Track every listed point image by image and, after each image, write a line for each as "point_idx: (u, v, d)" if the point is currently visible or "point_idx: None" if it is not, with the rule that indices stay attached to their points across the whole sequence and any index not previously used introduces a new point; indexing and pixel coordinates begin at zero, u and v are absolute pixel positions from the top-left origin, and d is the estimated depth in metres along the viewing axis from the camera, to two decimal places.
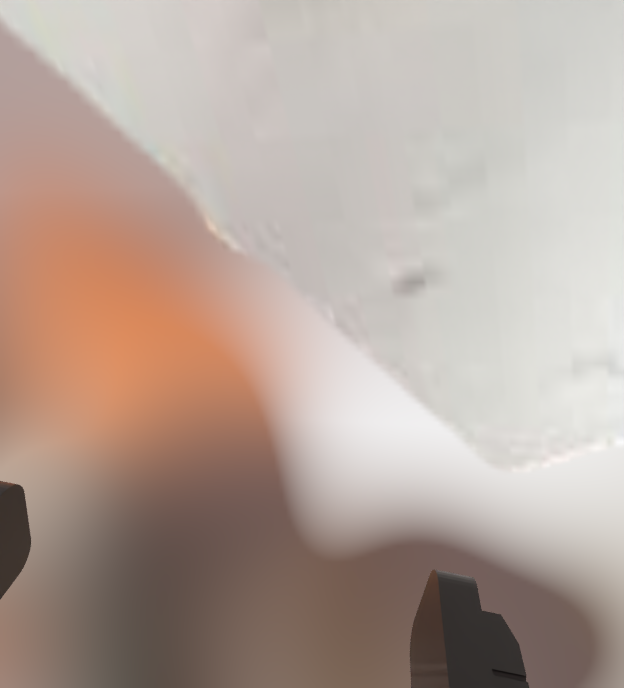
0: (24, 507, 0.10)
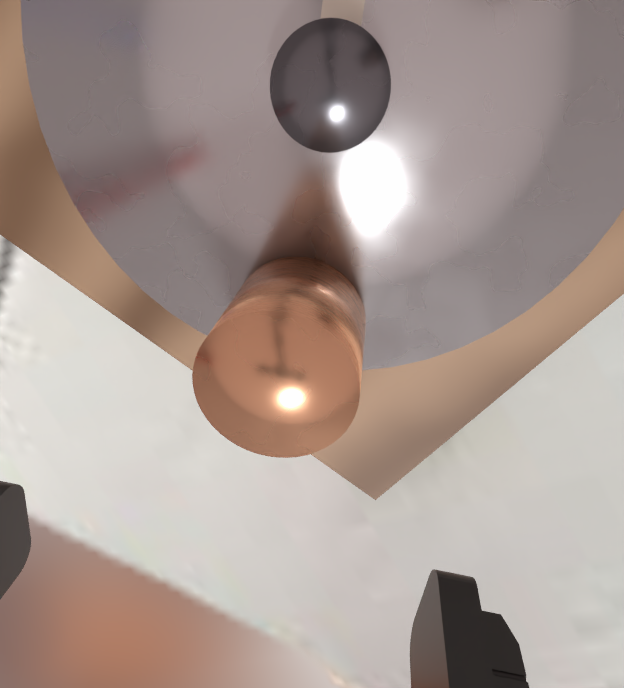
0: (24, 507, 0.10)
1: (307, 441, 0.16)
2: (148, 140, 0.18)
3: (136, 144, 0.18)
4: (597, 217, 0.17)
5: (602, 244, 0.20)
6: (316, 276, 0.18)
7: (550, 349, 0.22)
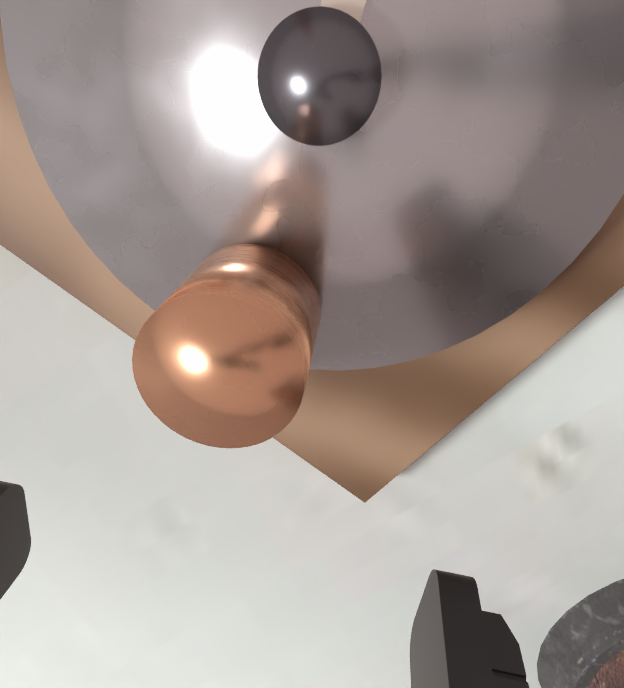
0: (24, 507, 0.10)
1: (243, 434, 0.16)
2: (123, 97, 0.17)
3: (108, 99, 0.17)
4: (557, 254, 0.18)
5: None
6: (277, 268, 0.17)
7: (97, 309, 0.23)
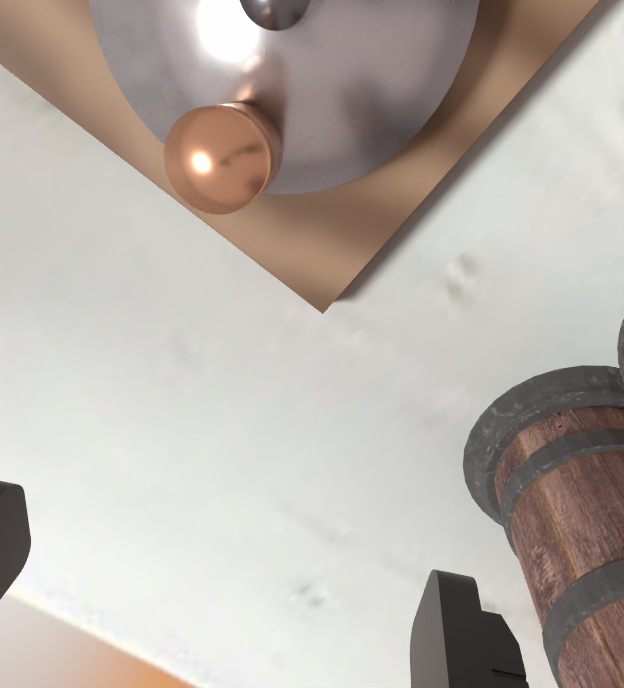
0: (24, 507, 0.10)
1: (229, 203, 0.27)
2: (156, 5, 0.28)
3: (147, 7, 0.28)
4: (428, 102, 0.28)
5: None
6: (251, 110, 0.28)
7: (136, 166, 0.33)
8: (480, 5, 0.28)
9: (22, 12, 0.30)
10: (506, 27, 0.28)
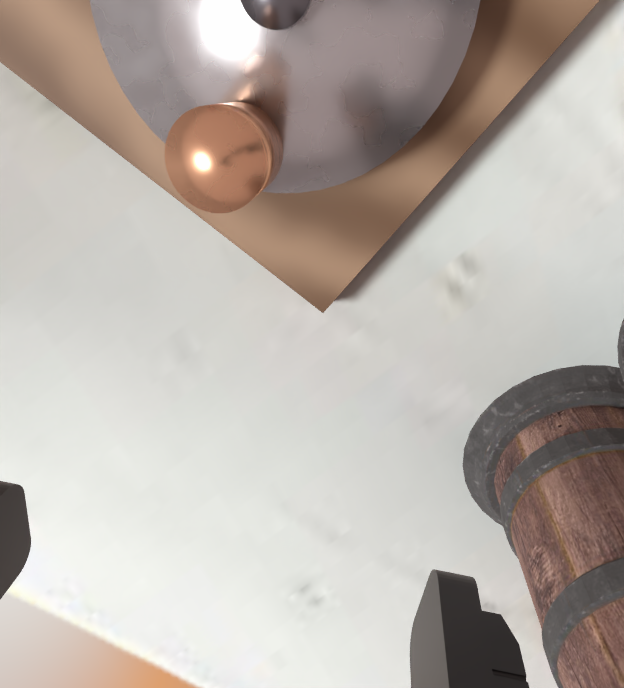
0: (24, 507, 0.10)
1: (230, 202, 0.27)
2: (157, 4, 0.28)
3: (148, 6, 0.28)
4: (428, 101, 0.28)
5: None
6: (252, 109, 0.28)
7: (136, 165, 0.33)
8: (481, 4, 0.28)
9: (23, 11, 0.30)
10: (507, 27, 0.28)
